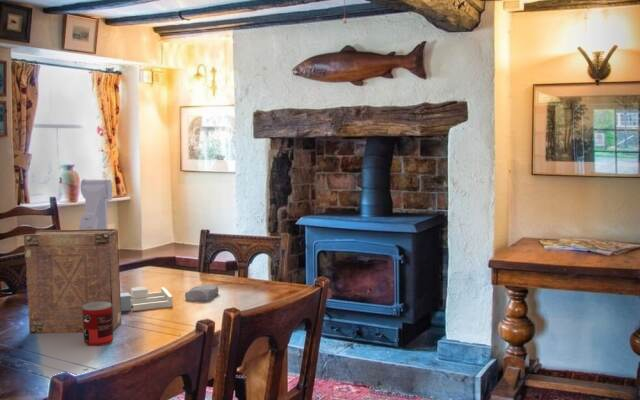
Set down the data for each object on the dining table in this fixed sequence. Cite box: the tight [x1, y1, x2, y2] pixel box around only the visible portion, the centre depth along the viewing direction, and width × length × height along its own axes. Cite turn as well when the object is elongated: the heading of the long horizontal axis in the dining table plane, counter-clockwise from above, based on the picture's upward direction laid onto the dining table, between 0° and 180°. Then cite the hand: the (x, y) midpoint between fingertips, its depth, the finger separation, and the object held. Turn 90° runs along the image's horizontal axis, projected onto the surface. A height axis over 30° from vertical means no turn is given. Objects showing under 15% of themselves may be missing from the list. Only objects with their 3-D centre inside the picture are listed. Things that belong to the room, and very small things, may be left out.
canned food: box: [82, 301, 114, 347], centre depth 189 cm, size 8×8×11 cm
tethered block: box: [120, 292, 132, 312], centre depth 223 cm, size 5×14×6 cm, turn 113°
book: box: [23, 228, 122, 334], centre depth 203 cm, size 25×9×30 cm, turn 91°
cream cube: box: [130, 286, 149, 300], centre depth 235 cm, size 5×5×5 cm
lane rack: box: [130, 287, 174, 312], centre depth 232 cm, size 15×13×4 cm
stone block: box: [184, 284, 219, 302], centre depth 241 cm, size 12×5×10 cm
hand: (89, 308), depth 221 cm, fingers closed on tethered block, 2 cm apart
